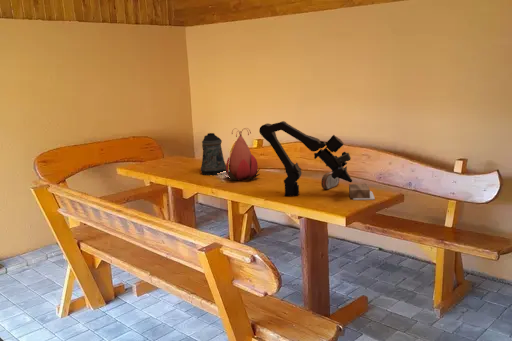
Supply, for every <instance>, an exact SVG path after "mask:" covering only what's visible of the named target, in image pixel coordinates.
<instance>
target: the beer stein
mask: <svg viewBox="0 0 512 341" xmlns="http://www.w3.org/2000/svg"><path fill="white" fill-rule="evenodd" d="M222 141H223V140H222V139H221V138H220V137H219V136H217V135H216V134H215V133H214V132H209V133H207V134H206V135H204V137H203V139H202V141H201V143H202V144H201V145H202V147H201V148H202V159H201V160H202V161H201V166H200V172H201V174H202V175H203V176H210V175H212V176H217V175H216V174H217V173H220V172H223V171H225V168H226V162H225V159H224V154H223V149H222ZM224 167H225V168H224Z"/></svg>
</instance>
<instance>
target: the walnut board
mask: <svg viewBox="0 0 512 341" xmlns="http://www.w3.org/2000/svg"><path fill="white" fill-rule="evenodd" d="M370 191H371V189H370V187H369V185H368V183H357V184H356V183H352V184H351V183H350V184H349V183H348V194H349V197H350V199H353V198H370Z"/></svg>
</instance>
